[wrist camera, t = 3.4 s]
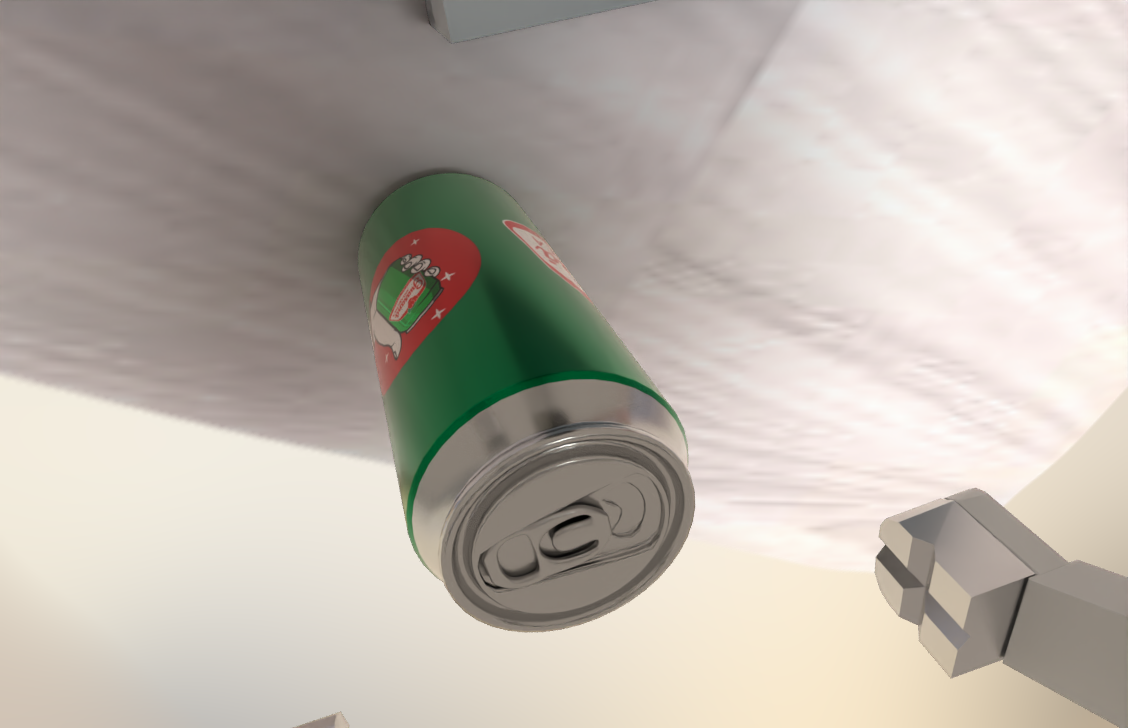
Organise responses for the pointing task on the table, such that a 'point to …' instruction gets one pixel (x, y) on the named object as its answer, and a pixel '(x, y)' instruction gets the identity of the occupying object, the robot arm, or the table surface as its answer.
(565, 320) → the soda can
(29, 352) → the table surface
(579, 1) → the tray
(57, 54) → the table surface
